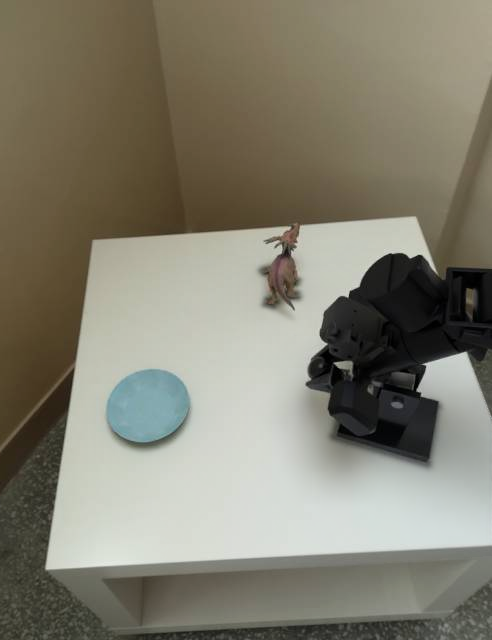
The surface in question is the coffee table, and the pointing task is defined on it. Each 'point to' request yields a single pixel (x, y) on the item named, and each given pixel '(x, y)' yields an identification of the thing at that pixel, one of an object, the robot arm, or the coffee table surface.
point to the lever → (324, 366)
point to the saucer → (147, 405)
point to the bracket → (401, 421)
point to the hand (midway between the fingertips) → (310, 373)
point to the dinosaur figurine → (283, 266)
